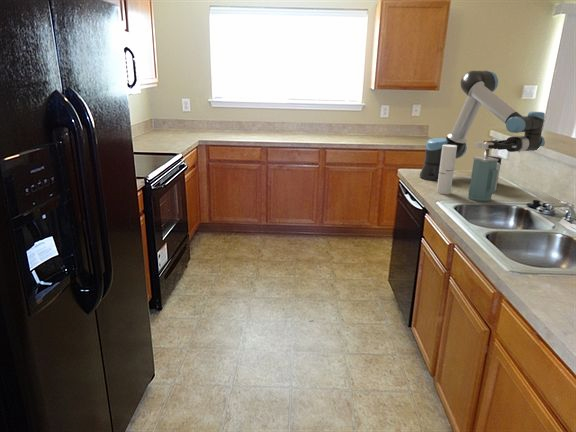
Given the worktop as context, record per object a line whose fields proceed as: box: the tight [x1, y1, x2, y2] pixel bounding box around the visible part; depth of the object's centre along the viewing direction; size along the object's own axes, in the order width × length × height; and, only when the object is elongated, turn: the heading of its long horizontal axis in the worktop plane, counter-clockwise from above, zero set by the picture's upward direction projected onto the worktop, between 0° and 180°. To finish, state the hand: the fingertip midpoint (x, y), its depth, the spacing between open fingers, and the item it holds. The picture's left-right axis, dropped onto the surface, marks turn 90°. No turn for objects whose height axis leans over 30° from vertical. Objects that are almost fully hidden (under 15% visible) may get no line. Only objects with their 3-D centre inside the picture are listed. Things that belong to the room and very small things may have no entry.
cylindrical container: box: [436, 145, 457, 195], centre depth 229 cm, size 7×7×25 cm
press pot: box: [467, 156, 498, 203], centre depth 217 cm, size 13×11×21 cm
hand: (479, 145), depth 211 cm, fingers closed on plunger, 4 cm apart
